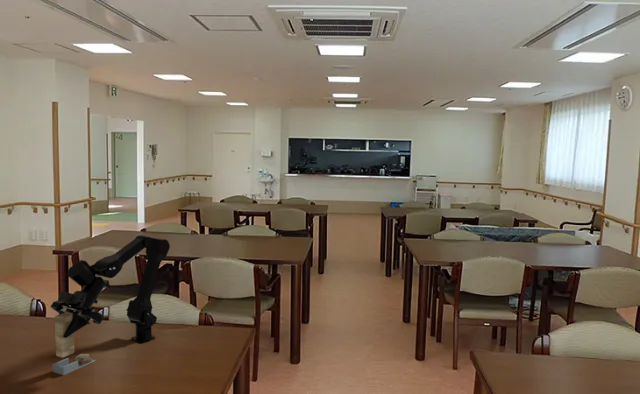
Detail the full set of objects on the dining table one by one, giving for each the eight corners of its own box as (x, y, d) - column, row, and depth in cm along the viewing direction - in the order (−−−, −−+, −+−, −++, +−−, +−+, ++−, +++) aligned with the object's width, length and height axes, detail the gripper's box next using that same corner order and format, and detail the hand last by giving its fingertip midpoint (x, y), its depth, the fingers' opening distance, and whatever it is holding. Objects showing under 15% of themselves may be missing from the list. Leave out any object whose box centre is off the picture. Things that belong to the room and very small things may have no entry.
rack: (85, 361, 163) (85, 350, 163) (95, 364, 161) (95, 353, 161) (52, 376, 153) (52, 364, 152) (63, 379, 150) (63, 367, 150)
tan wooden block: (68, 350, 156) (66, 312, 154) (74, 352, 155) (73, 313, 153) (56, 355, 152) (54, 316, 151) (62, 357, 151) (61, 317, 149)
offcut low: (83, 359, 162) (83, 355, 162) (91, 361, 160) (91, 358, 160) (73, 363, 159) (73, 359, 159) (82, 365, 157) (82, 362, 157)
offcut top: (80, 356, 161) (80, 353, 161) (89, 357, 161) (89, 354, 160) (75, 360, 158) (75, 357, 158) (84, 361, 158) (83, 357, 158)
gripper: (54, 276, 158) (23, 319, 150) (94, 284, 151) (63, 330, 142) (76, 293, 166) (47, 335, 157) (115, 302, 158) (87, 346, 150)
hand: (60, 336), depth 151 cm, fingers closed on tan wooden block, 3 cm apart
